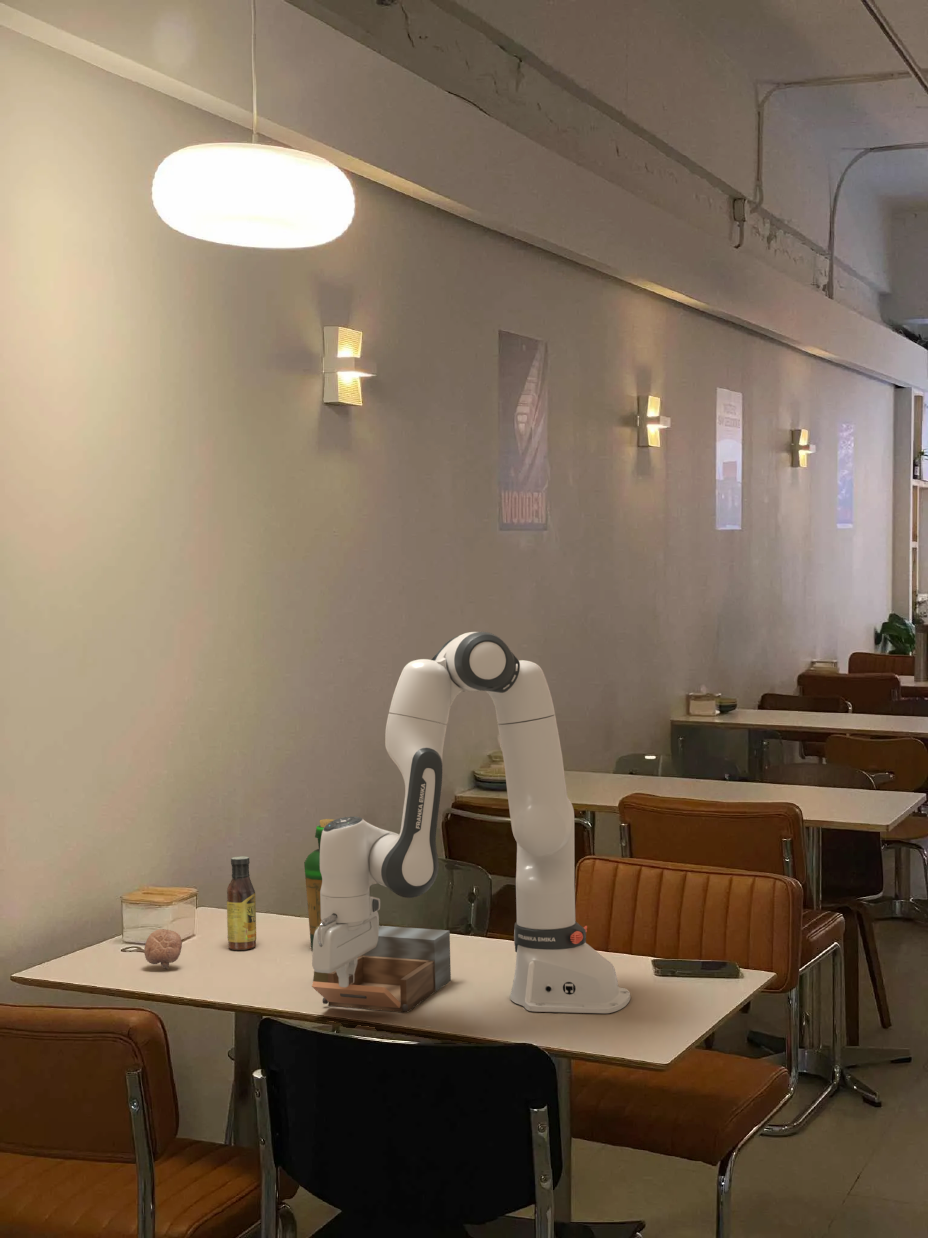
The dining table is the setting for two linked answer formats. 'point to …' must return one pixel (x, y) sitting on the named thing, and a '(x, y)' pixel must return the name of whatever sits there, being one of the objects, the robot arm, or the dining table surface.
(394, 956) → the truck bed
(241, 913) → the sauce bottle
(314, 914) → the bottle
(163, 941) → the brown rounded lump
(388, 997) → the wooden board
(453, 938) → the dining table surface
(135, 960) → the dining table surface
